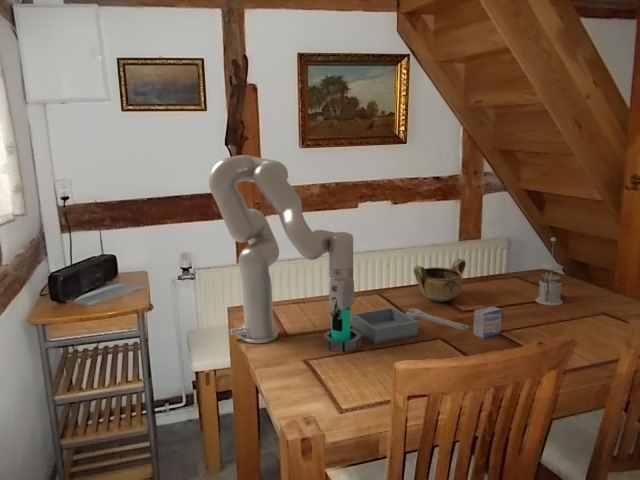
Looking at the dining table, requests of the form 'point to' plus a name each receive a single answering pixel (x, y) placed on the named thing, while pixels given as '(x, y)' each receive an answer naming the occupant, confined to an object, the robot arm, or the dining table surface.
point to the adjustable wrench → (435, 319)
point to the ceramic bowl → (440, 281)
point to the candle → (345, 331)
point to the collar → (343, 342)
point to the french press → (549, 284)
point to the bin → (384, 325)
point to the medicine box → (487, 322)
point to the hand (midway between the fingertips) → (341, 326)
